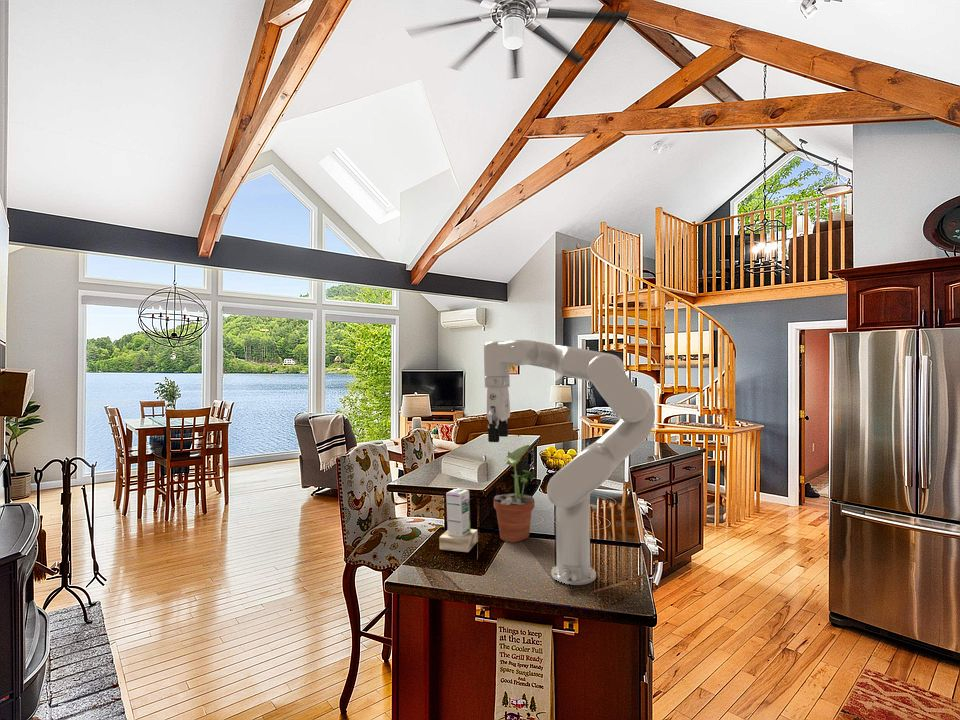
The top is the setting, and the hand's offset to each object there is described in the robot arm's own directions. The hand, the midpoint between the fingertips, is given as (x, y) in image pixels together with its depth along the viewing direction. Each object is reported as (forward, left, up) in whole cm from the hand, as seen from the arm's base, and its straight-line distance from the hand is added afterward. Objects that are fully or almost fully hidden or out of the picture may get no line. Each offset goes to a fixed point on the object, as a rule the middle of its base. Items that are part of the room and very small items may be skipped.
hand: (498, 439), depth 157 cm
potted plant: (+25, +2, -38) cm, 46 cm away
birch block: (+12, +18, -38) cm, 44 cm away
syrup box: (+12, +18, -34) cm, 41 cm away
